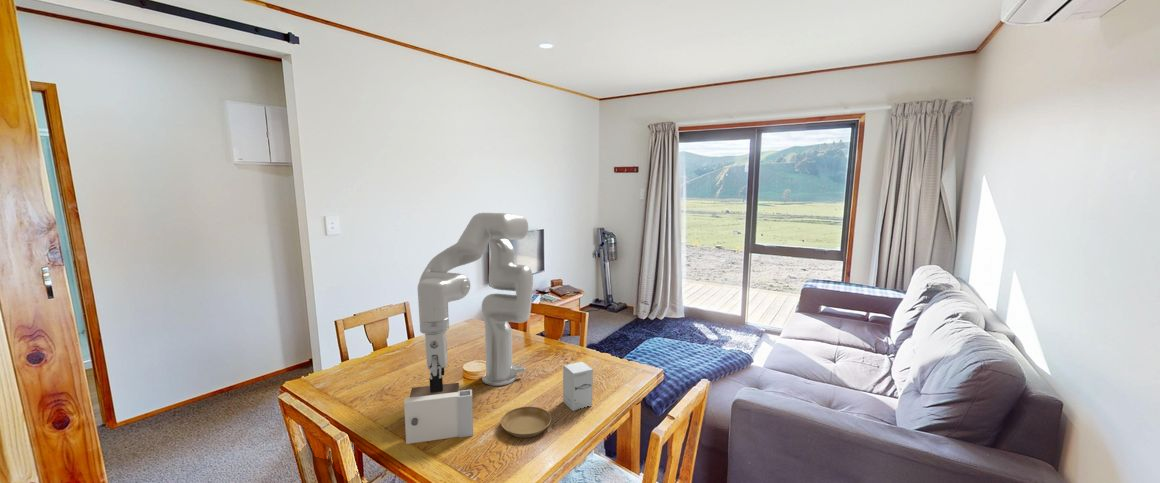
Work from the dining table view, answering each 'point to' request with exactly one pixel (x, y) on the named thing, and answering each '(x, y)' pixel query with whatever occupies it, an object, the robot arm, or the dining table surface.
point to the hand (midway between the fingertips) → (437, 383)
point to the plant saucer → (526, 421)
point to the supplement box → (577, 385)
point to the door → (438, 416)
